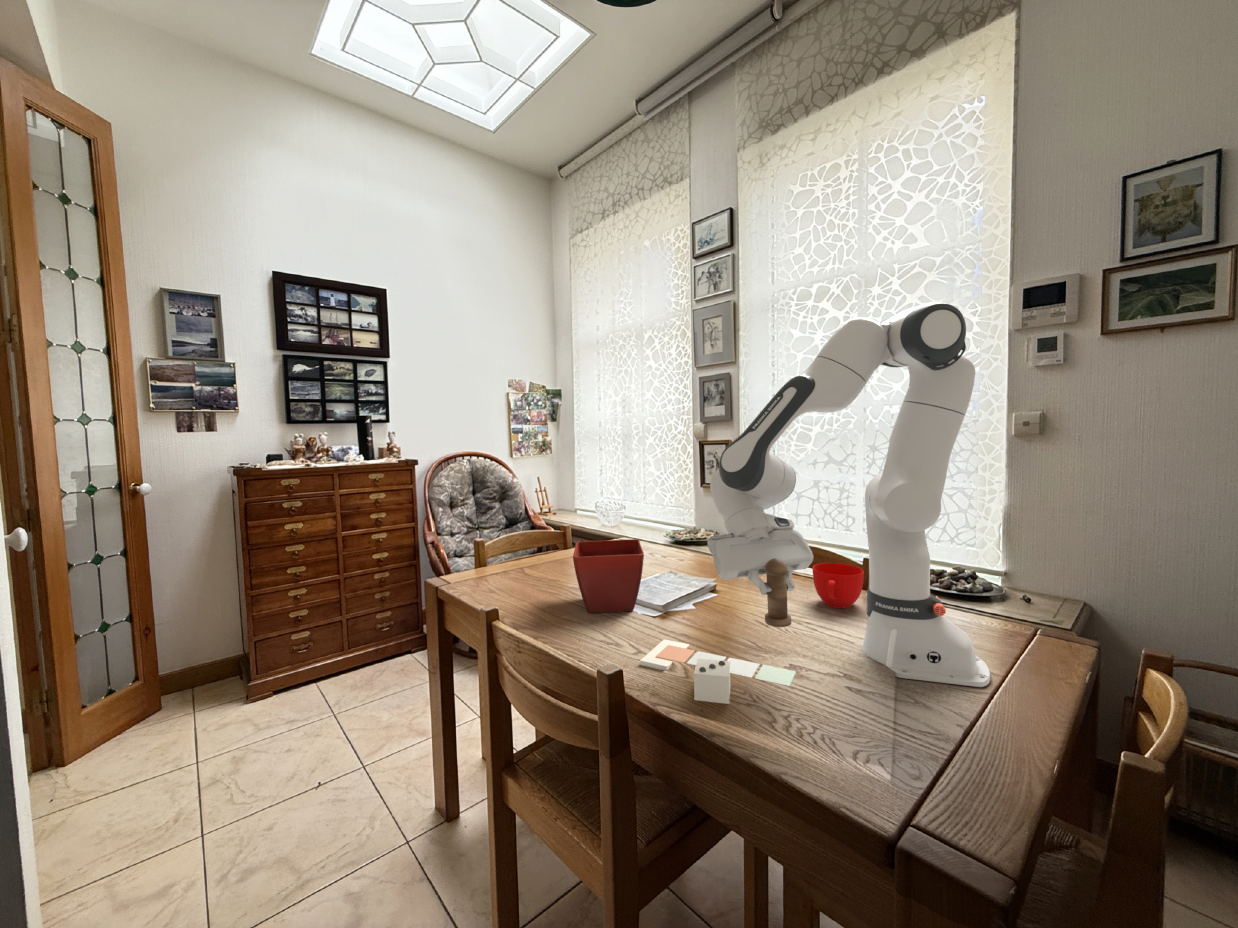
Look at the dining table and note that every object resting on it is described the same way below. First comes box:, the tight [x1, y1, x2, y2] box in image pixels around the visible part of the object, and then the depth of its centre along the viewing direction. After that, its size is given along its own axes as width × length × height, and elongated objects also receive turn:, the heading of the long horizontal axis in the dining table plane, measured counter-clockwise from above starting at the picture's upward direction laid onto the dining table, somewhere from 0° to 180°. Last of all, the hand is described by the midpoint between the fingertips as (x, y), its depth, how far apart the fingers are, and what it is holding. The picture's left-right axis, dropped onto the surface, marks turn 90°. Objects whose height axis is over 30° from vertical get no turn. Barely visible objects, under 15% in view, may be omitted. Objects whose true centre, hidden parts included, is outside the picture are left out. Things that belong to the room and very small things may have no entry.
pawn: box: [764, 558, 792, 628], centre depth 94 cm, size 5×5×12 cm
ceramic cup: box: [812, 562, 865, 609], centre depth 135 cm, size 13×17×10 cm
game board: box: [639, 638, 797, 687], centre depth 101 cm, size 32×12×1 cm, turn 60°
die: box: [693, 658, 731, 705], centre depth 89 cm, size 6×6×7 cm
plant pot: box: [572, 538, 645, 614], centre depth 141 cm, size 19×19×17 cm
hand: (778, 591), depth 94 cm, fingers closed on pawn, 4 cm apart
